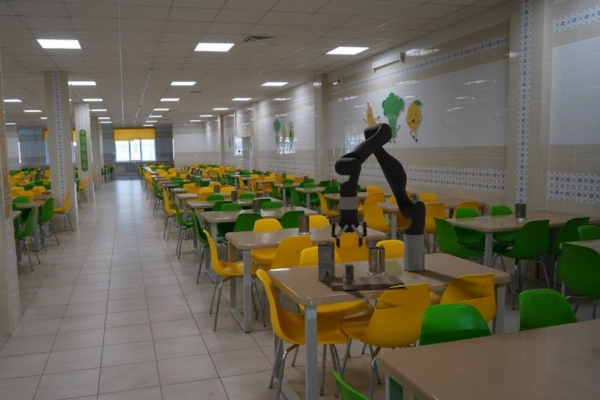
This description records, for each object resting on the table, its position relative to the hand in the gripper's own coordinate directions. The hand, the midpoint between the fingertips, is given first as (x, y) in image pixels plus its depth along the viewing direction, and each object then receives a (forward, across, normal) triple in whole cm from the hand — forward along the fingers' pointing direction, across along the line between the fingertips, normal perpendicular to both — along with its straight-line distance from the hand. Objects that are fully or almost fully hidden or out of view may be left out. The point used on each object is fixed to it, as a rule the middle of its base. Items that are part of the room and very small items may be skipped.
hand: (349, 247), depth 212 cm
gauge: (+17, 0, -5) cm, 18 cm away
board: (+18, -8, -8) cm, 21 cm away
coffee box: (+18, +7, -22) cm, 29 cm away
